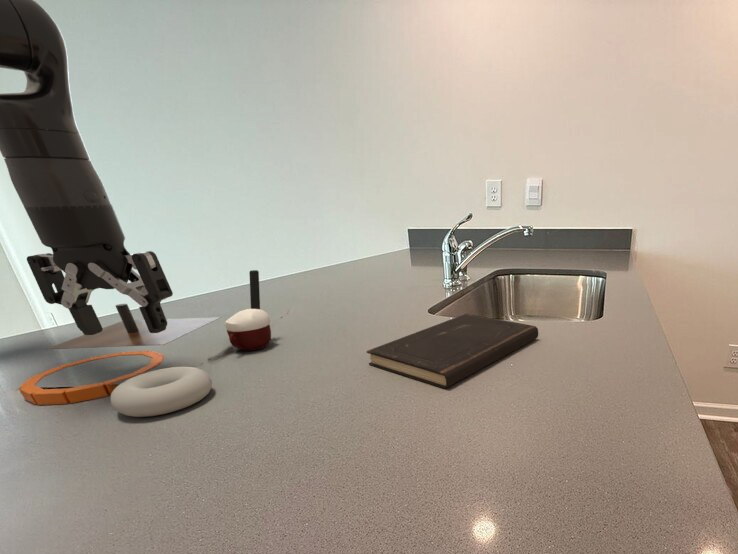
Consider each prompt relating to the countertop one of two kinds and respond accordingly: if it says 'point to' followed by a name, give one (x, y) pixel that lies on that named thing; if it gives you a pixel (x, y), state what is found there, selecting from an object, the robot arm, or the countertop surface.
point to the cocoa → (250, 322)
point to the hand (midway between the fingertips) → (126, 332)
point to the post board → (135, 332)
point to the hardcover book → (452, 349)
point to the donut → (161, 391)
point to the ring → (82, 392)
